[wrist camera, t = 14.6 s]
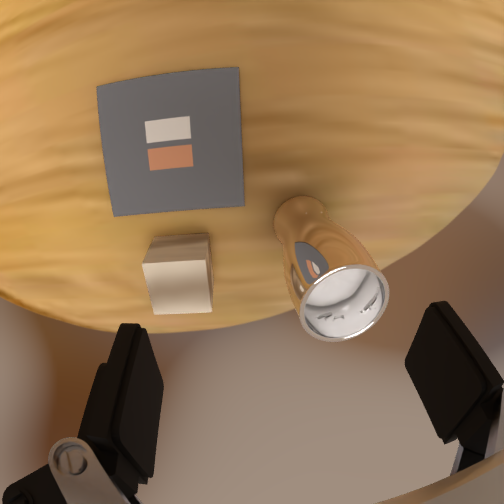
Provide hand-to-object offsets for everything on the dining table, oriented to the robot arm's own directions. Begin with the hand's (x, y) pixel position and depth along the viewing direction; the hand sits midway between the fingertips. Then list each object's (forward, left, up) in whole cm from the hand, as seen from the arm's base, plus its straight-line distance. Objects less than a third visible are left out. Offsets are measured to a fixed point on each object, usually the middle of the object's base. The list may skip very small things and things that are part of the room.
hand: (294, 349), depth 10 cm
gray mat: (-4, -8, -24) cm, 25 cm away
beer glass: (+6, +5, -24) cm, 25 cm away
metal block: (+9, -7, -24) cm, 27 cm away
